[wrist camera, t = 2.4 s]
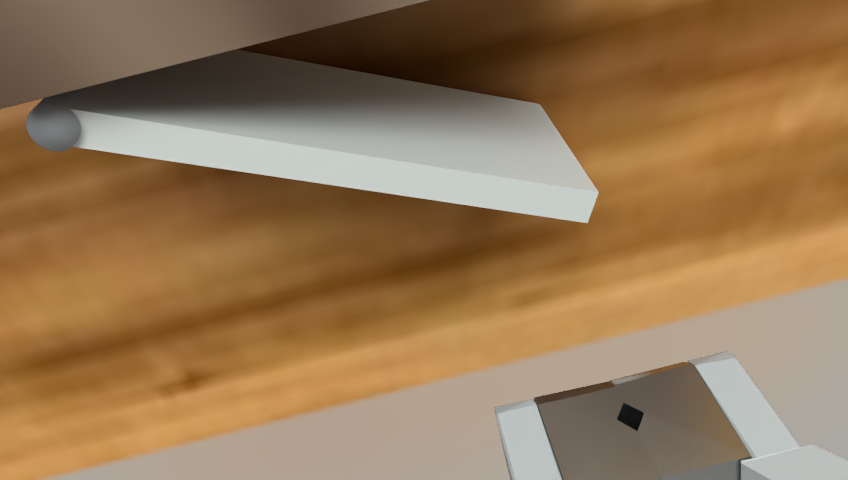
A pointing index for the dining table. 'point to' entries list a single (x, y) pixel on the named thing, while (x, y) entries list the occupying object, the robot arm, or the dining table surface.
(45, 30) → the case
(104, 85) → the door
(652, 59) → the dining table surface
